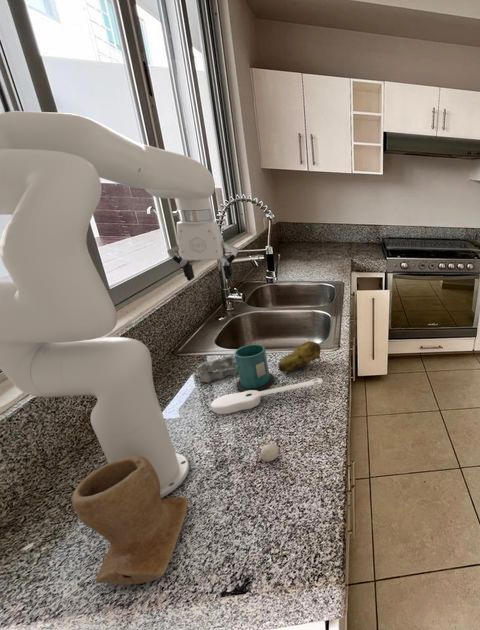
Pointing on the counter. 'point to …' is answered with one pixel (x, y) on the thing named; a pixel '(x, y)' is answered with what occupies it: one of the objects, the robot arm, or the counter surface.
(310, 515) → the counter surface
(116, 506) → the stone cup
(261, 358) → the bin
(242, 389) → the bin stand
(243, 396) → the white handheld wand
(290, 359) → the olive green oblong piece
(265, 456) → the paper ball
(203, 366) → the egg carton
